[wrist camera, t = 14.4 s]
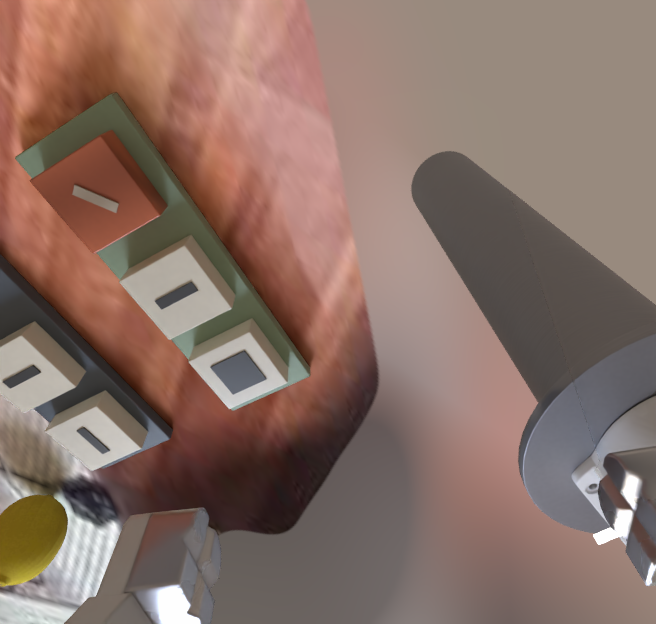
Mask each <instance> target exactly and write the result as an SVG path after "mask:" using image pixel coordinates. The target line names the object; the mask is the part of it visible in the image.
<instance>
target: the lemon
mask: <svg viewBox="0 0 656 624" xmlns="http://www.w3.org/2000/svg"><path fill="white" fill-rule="evenodd" d="M67 525H68V519H67V514H66V511H65V509H64V507H63V506H62V504H61V503H60V502H58V501H57V500H56V499H54V497H53V496H52V495H49V494H48V495H32V496H28V497H25V498H22V499H20V500H18V501H16V502H15V503H13V504H12V505H10V506H9V507H8V508H7V509H5V510H4V512H3V513H2V514H1V515H0V586H1V587H3V586H6V585H16V584H21V583H24V582H26V581H29V580H31V579H33V578H34V577H36V576H37V575H38V574H40V573H41V572H42V571H43V570H44V569H45V568H46V567H47V566H48V565H49V564H50V563H51V561H52V560H53V559H54V557H55V556H56V554H57V553H58V551H59V549H60V547H61V546H62V544H63V541H64V539H65V536H66V532H67Z"/></svg>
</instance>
